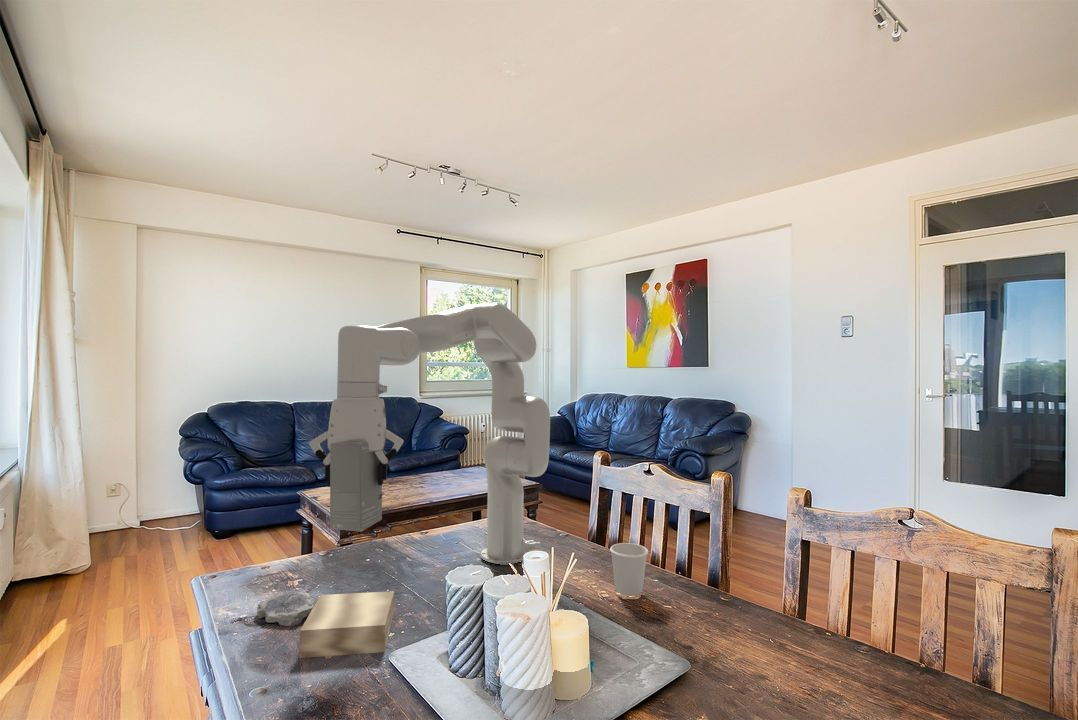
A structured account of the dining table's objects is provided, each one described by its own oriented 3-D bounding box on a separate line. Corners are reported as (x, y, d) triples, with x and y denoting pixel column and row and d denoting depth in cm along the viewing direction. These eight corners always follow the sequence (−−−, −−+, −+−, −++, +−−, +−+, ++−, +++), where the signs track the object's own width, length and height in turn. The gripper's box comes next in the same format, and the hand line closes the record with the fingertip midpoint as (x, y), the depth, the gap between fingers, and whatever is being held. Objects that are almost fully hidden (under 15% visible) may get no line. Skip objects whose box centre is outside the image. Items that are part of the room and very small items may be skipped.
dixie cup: (632, 584, 121) (633, 540, 121) (655, 598, 113) (656, 552, 113) (602, 590, 117) (602, 545, 117) (623, 605, 110) (624, 558, 110)
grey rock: (244, 605, 101) (287, 577, 110) (246, 623, 102) (289, 593, 111) (286, 623, 97) (327, 592, 106) (288, 642, 98) (329, 610, 107)
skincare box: (361, 533, 92) (363, 444, 93) (324, 530, 94) (327, 442, 94) (384, 519, 101) (386, 438, 101) (350, 517, 102) (352, 436, 102)
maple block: (393, 616, 104) (394, 591, 105) (384, 653, 91) (385, 624, 91) (320, 620, 102) (320, 595, 102) (299, 660, 88) (300, 630, 88)
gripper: (407, 391, 103) (405, 479, 103) (313, 390, 100) (311, 481, 99) (404, 392, 96) (403, 487, 95) (304, 392, 92) (301, 490, 92)
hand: (356, 484), depth 97 cm, fingers closed on skincare box, 8 cm apart
